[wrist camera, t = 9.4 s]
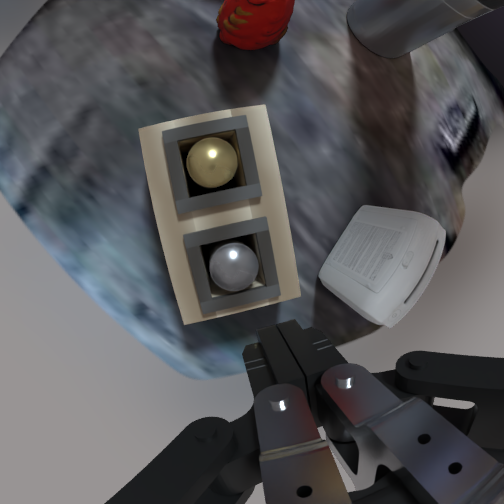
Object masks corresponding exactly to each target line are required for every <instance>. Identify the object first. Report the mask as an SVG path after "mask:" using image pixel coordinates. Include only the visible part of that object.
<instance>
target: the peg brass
mask: <svg viewBox="0 0 504 504" xmlns="http://www.w3.org/2000/svg"><path fill="white" fill-rule="evenodd" d="M187 169H188V172H189V174H190V176H191V178H192V179H193V181H194V182H195V183H196V184H197V185H198V186H200V187H203V188H207V189H211V188H216V187H218V186H221V185H224V184H225V183H227V182H228V181H229V180H230V179H231V178H232V177H233V176H234V174H235V172H236V169H237V155H236V153H235V150H234V149H233V147H232V146H231V145H230V144H229V143H227V142H226V141H224V140H222V139H219V138H206V139H203V140H201V141H199V142H197V143H196V144H195V145H194V146H193V147H192V148H191V150H190V151H189V154H188V157H187Z"/></svg>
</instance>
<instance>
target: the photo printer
mask: <svg viewBox="0 0 504 504" xmlns="http://www.w3.org/2000/svg"><path fill="white" fill-rule="evenodd" d="M445 237H446V231H445V230H444V229H443V228H442V227H441V226H440V224H439V222H438V221H436V220H435V219H433V218H431V217H429V216H427V215H425V214H423V213H420V212H415V211H408V210H401V209H393V208H385V207H378V206H370V205H363V206H362V207H361V208H360V209H359V210H358V211H357V212H356V214H355V215H354V216H353V218H352V220H351V221H350V223H349V224H348V226H347V227H346V229H345V230H344V232H343V234H342V235H341V237H340V238H339V240H338V242H337V243H336V245H335V246H334V248H333V249H332V251H331V253H330V254H329V256H328V257H327V259H326V261H325V263H324V264H323V266H322V268H321V270H320V272H319V275H318V277H319V278H320V280H321V282H322V284H323V285H324V286H325V287H326V288H327V289H328V290H330V291H331V292H332V293H333V294H335V295H336V296H337V297H338V298H340V299H341V300H342V301H344V302H345V303H346V304H347V305H349V306H350V307H351V308H352V309H354V310H355V311H356V312H357V313H359V314H360V315H361V316H363V317H364V318H365V319H367V320H369V321H371V322H373V323H375V324H377V325H385V326H387V327H388V328H392V327H393V326H394V325H396V324H397V323H398V322H399V321H400V320H401V319H402V318H403V317H404V316H405V315H406V314H407V313H408V312H409V311H410V310H411V309H412V307H413V306H414V305H415V303H416V302H417V301H418V300H419V298H420V297H421V295H422V294H423V292H424V291H425V289H426V287H427V286H428V284H429V282H430V280H431V278H432V276H433V274H434V272H435V270H436V268H437V265H438V263H439V260H440V258H441V254H442V251H443V247H444V243H445Z"/></svg>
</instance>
